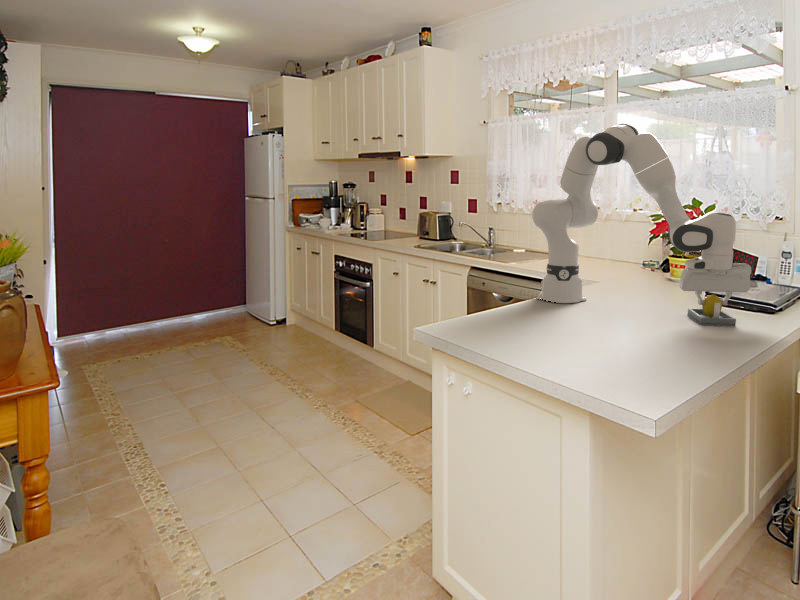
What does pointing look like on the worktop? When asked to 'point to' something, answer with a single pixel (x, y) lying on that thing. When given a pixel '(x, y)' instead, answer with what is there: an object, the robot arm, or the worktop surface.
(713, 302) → the lemon
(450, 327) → the worktop surface
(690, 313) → the tray
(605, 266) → the worktop surface
